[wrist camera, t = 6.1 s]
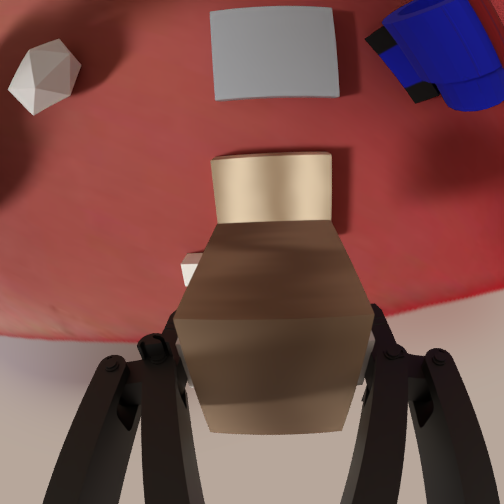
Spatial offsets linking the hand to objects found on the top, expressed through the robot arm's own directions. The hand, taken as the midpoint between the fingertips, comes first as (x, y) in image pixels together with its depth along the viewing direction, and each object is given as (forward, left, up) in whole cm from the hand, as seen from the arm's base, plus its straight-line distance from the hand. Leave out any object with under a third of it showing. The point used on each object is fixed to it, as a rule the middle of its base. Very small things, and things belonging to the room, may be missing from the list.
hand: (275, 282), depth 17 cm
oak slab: (0, 0, -18) cm, 18 cm away
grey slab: (+1, +16, -18) cm, 24 cm away
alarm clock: (+19, +18, -18) cm, 32 cm away
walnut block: (0, 0, 0) cm, 0 cm away
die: (-25, +19, -18) cm, 36 cm away
